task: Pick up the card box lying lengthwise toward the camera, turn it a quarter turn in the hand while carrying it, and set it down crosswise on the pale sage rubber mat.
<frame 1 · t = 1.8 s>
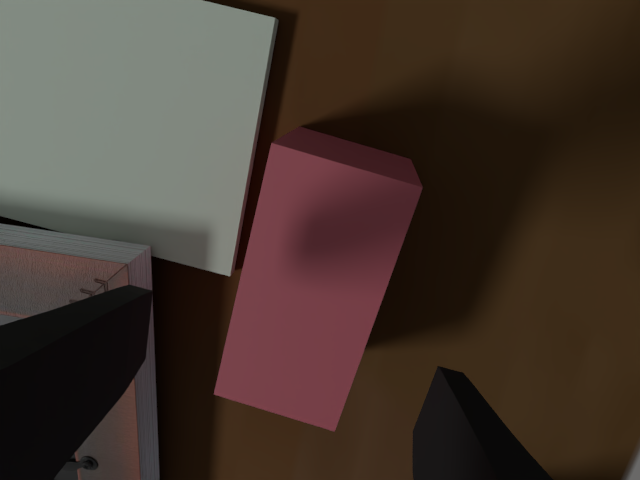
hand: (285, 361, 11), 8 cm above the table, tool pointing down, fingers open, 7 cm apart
picture frame: (12, 408, 24), on the table, touching sage mat
card box: (324, 247, 19), on the table
sage mat: (72, 111, 18), on the table
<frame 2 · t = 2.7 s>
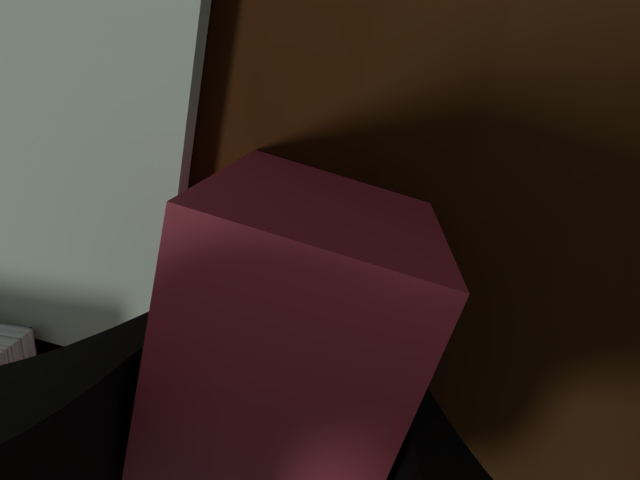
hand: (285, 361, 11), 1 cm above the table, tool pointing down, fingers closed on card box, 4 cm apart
card box: (296, 329, 13), on the table, touching gripper
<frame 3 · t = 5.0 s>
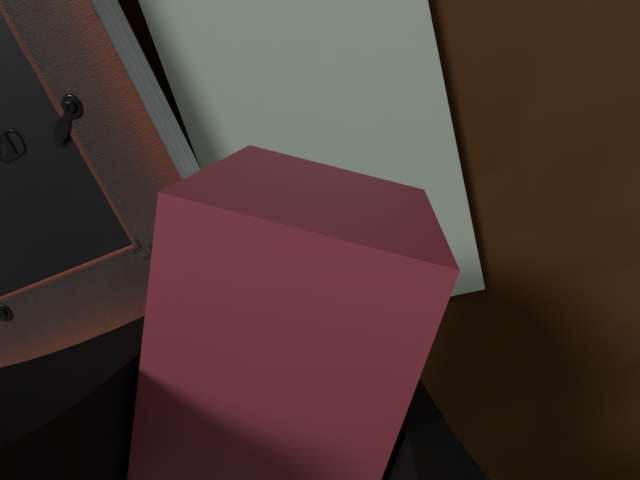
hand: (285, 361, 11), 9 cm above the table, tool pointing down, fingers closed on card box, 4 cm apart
card box: (297, 323, 13), point 7 cm above the table, touching gripper
sage mat: (321, 143, 18), on the table
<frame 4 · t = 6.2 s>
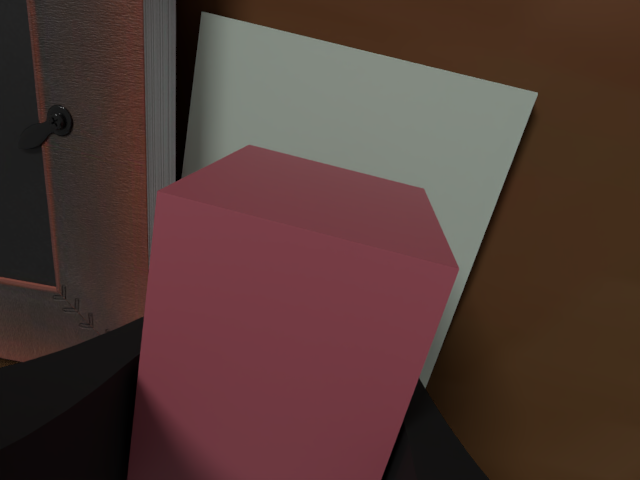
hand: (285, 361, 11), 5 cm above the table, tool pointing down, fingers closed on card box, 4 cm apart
card box: (297, 322, 13), point 4 cm above the table, touching gripper
sage mat: (313, 273, 16), on the table
when the fingers open (3 cm above the table, at t = 7.2 s): card box stays where it is, resting on sage mat.
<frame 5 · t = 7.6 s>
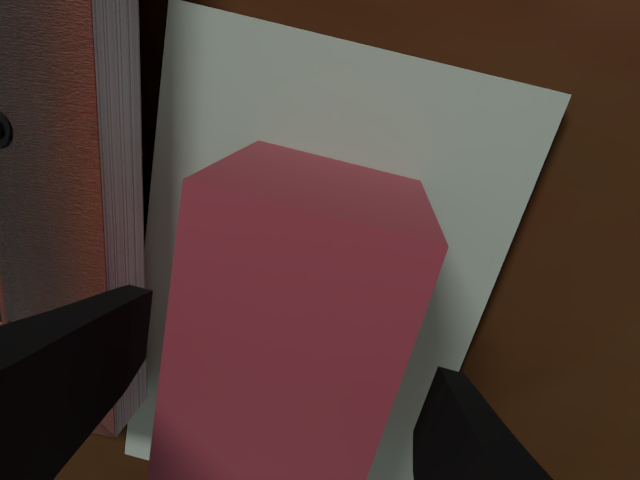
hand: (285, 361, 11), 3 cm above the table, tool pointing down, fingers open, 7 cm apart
card box: (303, 307, 14), point 1 cm above the table, touching sage mat
sage mat: (305, 302, 14), on the table
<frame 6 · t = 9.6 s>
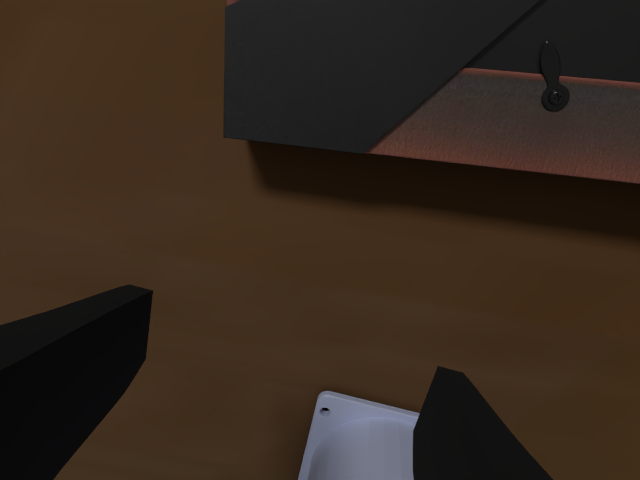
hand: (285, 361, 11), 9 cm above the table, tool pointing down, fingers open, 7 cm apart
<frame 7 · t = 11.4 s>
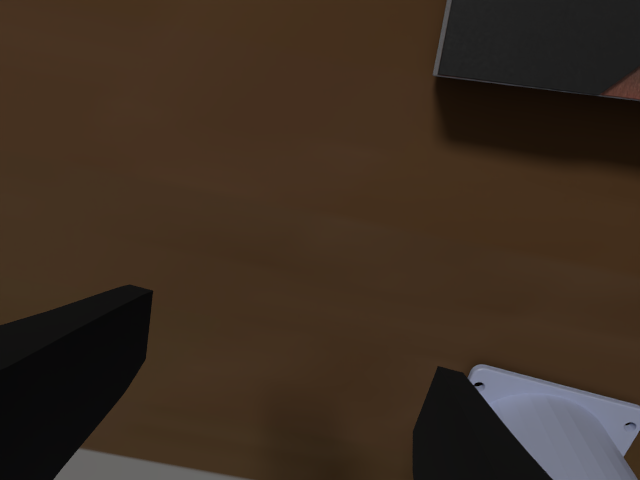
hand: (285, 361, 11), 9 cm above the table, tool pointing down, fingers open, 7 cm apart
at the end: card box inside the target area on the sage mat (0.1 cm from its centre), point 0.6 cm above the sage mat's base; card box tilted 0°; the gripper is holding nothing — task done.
